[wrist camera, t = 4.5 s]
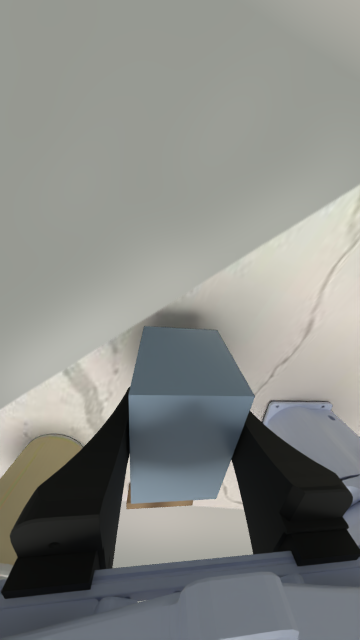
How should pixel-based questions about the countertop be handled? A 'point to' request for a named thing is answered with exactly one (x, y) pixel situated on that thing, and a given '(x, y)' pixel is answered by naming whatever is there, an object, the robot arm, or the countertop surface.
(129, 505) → the brown rectangular block
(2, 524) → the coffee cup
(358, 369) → the countertop surface
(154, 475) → the blue-grey rectangular block
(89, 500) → the robot arm
